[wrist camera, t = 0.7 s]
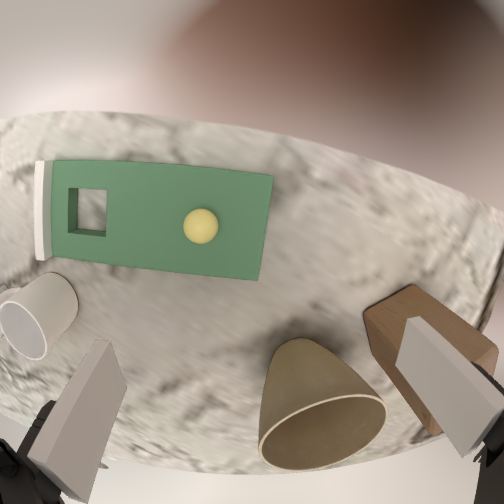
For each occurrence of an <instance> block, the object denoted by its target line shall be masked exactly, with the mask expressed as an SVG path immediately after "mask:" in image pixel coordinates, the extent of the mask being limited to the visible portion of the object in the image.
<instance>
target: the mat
mask: <svg viewBox="0 0 504 504" xmlns="http://www.w3.org/2000/svg"><path fill="white" fill-rule="evenodd" d="M273 179H274V176H270V175H263V174H256V173H249V172H241V171H233V170H225V169H217V168H207V167H198V166H187V165H175V164H162V163H147V162H128V161H95V160H59V161H36V163H35V177H34V240H35V254H36V260H42V261H45V260H47V259H48V258H50V257H52V256H55V257H62V258H69V259H76V260H83V261H90V262H97V263H104V264H112V265H120V266H127V267H135V268H143V269H151V270H160V271H168V272H177V273H186V274H195V275H204V276H214V277H224V278H234V279H244V280H255V281H258V277H259V270H260V264H261V258H262V251H263V245H264V238H265V232H266V225H267V219H268V212H269V206H270V199H271V192H272V186H273ZM78 188H87V189H106V190H108V192H107V211H106V232H104V231H95V230H85V229H77V196H78ZM195 209H207V210H209V211H211V212H212V213H213V214H214V215H215V216H216V218H217V221H218V231H217V234H216V236H215V237H214V238H213V239H212V240H211V241H209V242H207V243H204V244H198V243H194V242H192V241H190V240H189V239H188V238H187V236H186V235H185V233H184V229H183V224H184V220H185V218H186V216H187V215H188V214H189V213H190V212H191V211H193V210H195Z"/></svg>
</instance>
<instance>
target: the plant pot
mask: <svg viewBox="0 0 504 504" xmlns="http://www.w3.org/2000/svg"><path fill="white" fill-rule="evenodd" d="M387 419H388V407H387V405H386V403H385V402H384V401H383V400H382V399H381V398H380V397H379V395H378V394H377V393H376V392H375V391H374V390H373V389H372V388H371V387H370V386H369V385H368V384H367V383H366V382H365V381H364V380H363V379H362V378H361V377H360V376H359V375H358V374H357V373H356V372H355V371H354V370H353V369H352V368H351V367H349V366H348V365H347V364H346V363H345V362H343V361H342V360H341V359H340V358H338V357H337V356H336V355H334V354H333V353H331V352H330V351H329V350H327V349H326V348H324V347H322V346H321V345H319V344H317V343H316V342H314V341H312V340H309V339H305V338H298V339H293V340H290V341H288V342H286V343H284V344H282V345H281V346H280V347H279V348H278V349H277V350H276V351H275V353H274V355H273V358H272V360H271V363H270V366H269V370H268V373H267V377H266V381H265V385H264V390H263V395H262V402H261V410H260V420H259V443H258V452H259V455H260V457H261V459H262V460H263V461H264V462H265V463H267V464H268V465H270V466H272V467H274V468H277V469H281V470H286V471H307V470H314V469H319V468H323V467H327V466H330V465H333V464H336V463H338V462H341V461H343V460H345V459H347V458H349V457H351V456H353V455H355V454H356V453H358V452H360V451H361V450H363V449H364V448H365V447H367V446H368V445H369V444H370V443H371V442H373V441H374V440H375V439H376V437H377V436H378V435H379V434H380V433H381V431H382V430H383V428H384V427H385V425H386V422H387Z"/></svg>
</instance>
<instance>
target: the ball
mask: <svg viewBox="0 0 504 504" xmlns="http://www.w3.org/2000/svg"><path fill="white" fill-rule="evenodd" d="M183 229H184V233H185V235H186V236H187V238H188V239H189V240H190V241H192V242H194V243H198V244H204V243H207V242H209V241H211V240H212V239H213V238H214V237H215V236H216V234H217V231H218V221H217V218H216V216H215V215H214V214H213V213H212V212H211V211H209V210H207V209H195V210H193V211H191V212H190V213H189V214H188V215H187V216H186V218H185V220H184V224H183Z"/></svg>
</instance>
